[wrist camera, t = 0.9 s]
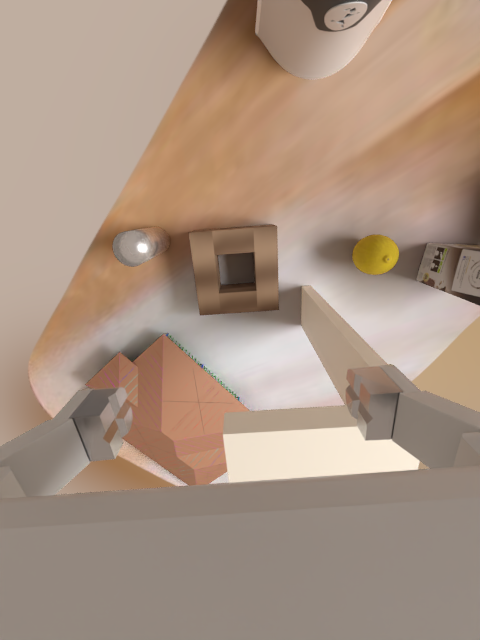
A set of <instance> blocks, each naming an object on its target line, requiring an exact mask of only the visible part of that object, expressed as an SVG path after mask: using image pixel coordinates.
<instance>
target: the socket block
mask: <svg viewBox="0 0 480 640" xmlns="http://www.w3.org/2000/svg"><path fill="white" fill-rule="evenodd" d="M189 240H190V247H191V254H192V261H193V269H194V276H195V283H196V291H197V298H198V305H199V312H200V315H212V314H226V313H241V312H255V311H269V310H279V297H278V248H277V226H275V225H260V226H247V227H235V228H222V229H209V230H196V231H192V232H190V233H189ZM249 252H253V260H254V279H255V283H243V284H229V285H221V282H220V272H219V263H218V255H223V254H236V253H249Z"/></svg>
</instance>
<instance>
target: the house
mask: <svg viewBox="0 0 480 640" xmlns="http://www.w3.org/2000/svg"><path fill="white" fill-rule="evenodd" d="M167 336H168V334H167V335H165V334H163V335H162V336H160V337H159V338H158V339H157V340H156V341H155V342H154V343H153V344H152V345H151V346H150V347H148V348H147V349H146V350H145V351H144V352H143V353H142V354H141V355H140V356H139V357H137V358H136V359H135V360H134V361H133V362H131V361H130V360H129V359H128V358H127V357H125V356H124V355H123V354H122V353H121V352H119V353H118V354H117V355H116V356H115V357H114V358H113V359H112V360H111V361H110V362H109V363H108V364H107V365H105V366H104V367H103V368H102V369H101V370H100V371H99V372H98V373H97V374H96V375H95V376H94V377H93V378H92V379H91V380H90V381H89V382H87V383H86V384H85V385H86V386H88V387H89V388H91V389H93V388H94V389H96V388H111V387H123V388H124V389H125V390H126V393H127V396H128V397H127V399H126V401H125V402H126V403H127V404H128V405H130V406H131V410H132V417H133V419H132V425H131V428H130V430H129V432H128V433H127V434H126V435H125V436H124V437H122V438H123V439H124V440H126V441H127V442H128V443H130V444H131V445H133V446H134V447H136V448H137V449H138V450H140V451H141V452H143V453H144V454H145V455H147V456H148V457H150V458H151V459H152V460H154V461H155V462H157V463H158V464H159V465H161V466H162V467H164V468H165V469H166V470H168V471H169V472H171V473H172V474H173V475H175V476H176V477H178V478H179V479H180V480H182V481H183V482H185V483H186V484H188V485H189V486H190V485H204V484H209V483H211V482H212V481H214V480H215V479H217V478H218V477H220V476H221V475H223V474H224V473H226V472H227V463H226V455H225V447H224V440H223V426H224V413H229V412H245V411H249V410H248V409H247V408H246V407H245V406H244V405H243V404H242V403H240V402H239V397H238V400H237V399H236V394H235V397H234V396H233V392H232V394H230V393H229V392H228V391H227V390H226V389H225V388H224V387H223V386H221V385H220V384H219V383H218V382H217V381H216V380H215V379H214V378H213V377H211V376H210V375H209V374H208V373H207V372H206V371H205V370H204V369H205V367H204V369H203V365H202V366H201V367H200V366H199V363H198V364H197V363H196V362H195V361H196V359H195V361H194V360H192V359H191V358H190V357H189V355H187V354H186V352H184V351H182V350H183V348H182V350H181V349H180V348H179V347H178V346H177V345H176V343H173V342H172V341H171V340H170V338H168V337H167ZM170 337H171V336H170ZM172 340H173V339H172ZM176 342H177V341H176ZM179 346H180V345H179ZM186 351H187V350H186ZM189 354H190V353H189ZM192 358H193V356H192ZM206 369H207V368H206ZM209 372H210V371H209ZM212 375H213V373H212ZM215 378H216V376H215ZM218 381H219V379H218ZM221 383H222V381H221ZM224 385H225V384H224Z"/></svg>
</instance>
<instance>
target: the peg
mask: <svg viewBox="0 0 480 640" xmlns="http://www.w3.org/2000/svg"><path fill="white" fill-rule="evenodd" d="M169 244H170V239H169V236H168V234H167V233H166V231H165V230H163V229H162V228H160V227H150V228H144V229H138V230H132V231H126V232H122V233H120V234H118V235H117V236H116V237H115V239H114V241H113V252H114V255H115V256H116V258H117V259H118V260H119V261H120V262H121V263H122V264H124V265H127V266H131V267H134V266H138V265H140V264H142V263H144V262H146V261H148V260H150V259H152V258H154V257H155V256H157V255H159V254H161V253H163V252H165V251H166V250H167V249H168V247H169Z"/></svg>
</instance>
